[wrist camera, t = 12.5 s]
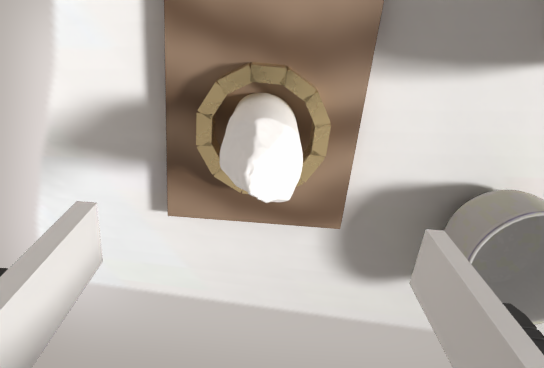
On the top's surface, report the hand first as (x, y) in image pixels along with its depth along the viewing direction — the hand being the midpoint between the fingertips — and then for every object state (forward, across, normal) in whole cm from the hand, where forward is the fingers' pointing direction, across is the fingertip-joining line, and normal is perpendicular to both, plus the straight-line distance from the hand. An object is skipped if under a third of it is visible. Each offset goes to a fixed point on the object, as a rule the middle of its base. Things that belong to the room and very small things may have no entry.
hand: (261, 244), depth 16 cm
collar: (+18, 0, 0) cm, 18 cm away
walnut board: (+19, 0, +1) cm, 19 cm away
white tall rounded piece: (+18, 0, 0) cm, 18 cm away
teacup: (+20, +24, -8) cm, 32 cm away
